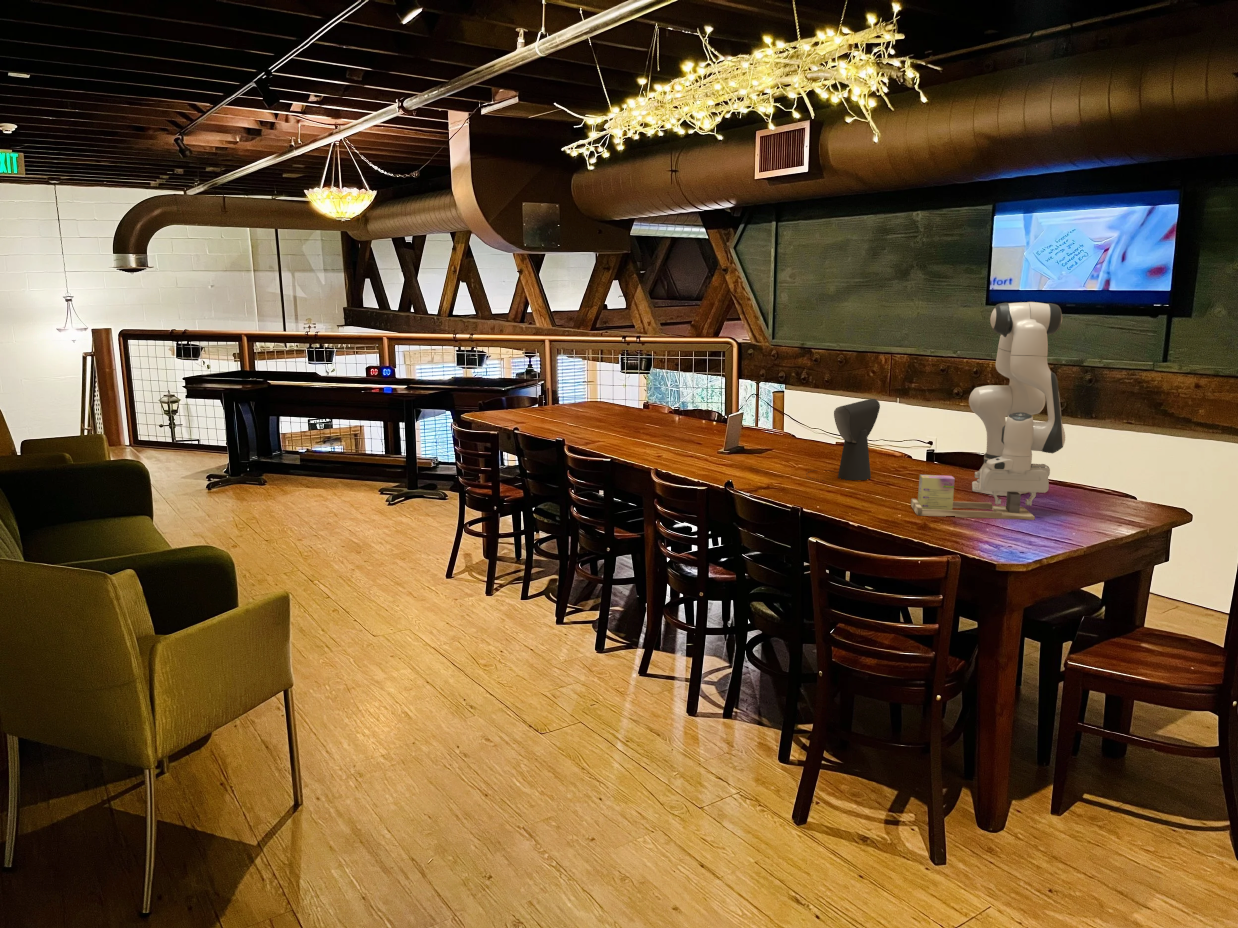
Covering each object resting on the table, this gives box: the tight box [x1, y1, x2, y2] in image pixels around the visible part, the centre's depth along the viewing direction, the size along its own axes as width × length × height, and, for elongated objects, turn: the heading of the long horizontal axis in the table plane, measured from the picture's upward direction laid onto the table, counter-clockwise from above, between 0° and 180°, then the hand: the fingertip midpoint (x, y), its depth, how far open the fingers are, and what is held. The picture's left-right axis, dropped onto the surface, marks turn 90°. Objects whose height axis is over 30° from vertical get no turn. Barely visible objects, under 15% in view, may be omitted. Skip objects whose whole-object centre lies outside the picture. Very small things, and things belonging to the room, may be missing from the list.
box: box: [917, 474, 956, 510], centre depth 295 cm, size 10×6×12 cm, turn 80°
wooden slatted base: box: [910, 492, 1036, 521], centre depth 293 cm, size 14×36×7 cm, turn 80°
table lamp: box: [805, 398, 881, 482], centre depth 344 cm, size 40×28×30 cm
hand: (1013, 504), depth 291 cm, fingers open, 8 cm apart
